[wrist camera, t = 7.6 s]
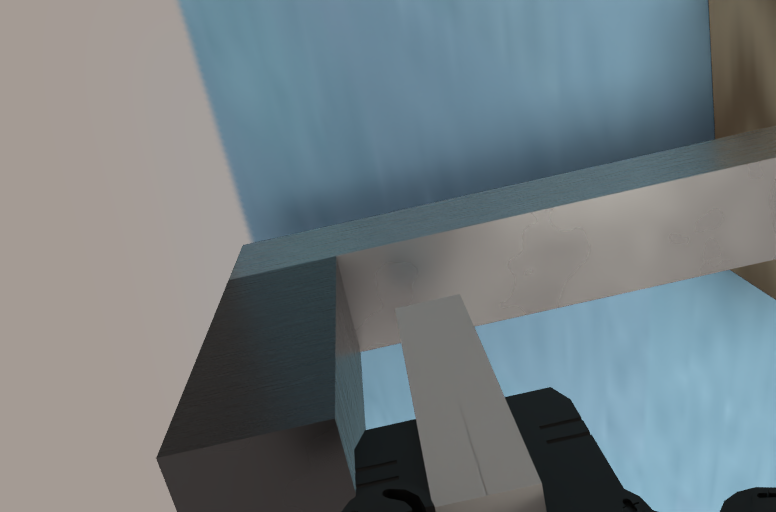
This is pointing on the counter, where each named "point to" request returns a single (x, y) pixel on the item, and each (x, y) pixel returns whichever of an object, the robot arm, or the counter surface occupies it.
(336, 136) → the counter surface
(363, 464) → the robot arm
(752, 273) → the block
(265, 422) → the shaft
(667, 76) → the counter surface
